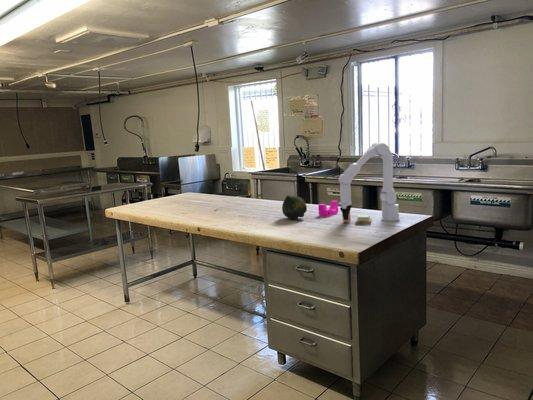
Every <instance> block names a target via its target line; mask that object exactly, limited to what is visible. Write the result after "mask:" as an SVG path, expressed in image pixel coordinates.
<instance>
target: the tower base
mask: <svg viewBox="0 0 533 400" xmlns="http://www.w3.org/2000/svg"><path fill="white" fill-rule="evenodd" d="M371 224H372V218H371V217H370V219H369V221H358V217H357V218H356V220H355V225H356V226H357V225H360V226H361V225H363V226H365V225H366V226H367V225H371Z"/></svg>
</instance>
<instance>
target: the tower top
mask: <svg viewBox="0 0 533 400" xmlns="http://www.w3.org/2000/svg"><path fill="white" fill-rule="evenodd" d="M357 218H358V221H369V219H370V218H371V217H370V214H358V216H357Z"/></svg>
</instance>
